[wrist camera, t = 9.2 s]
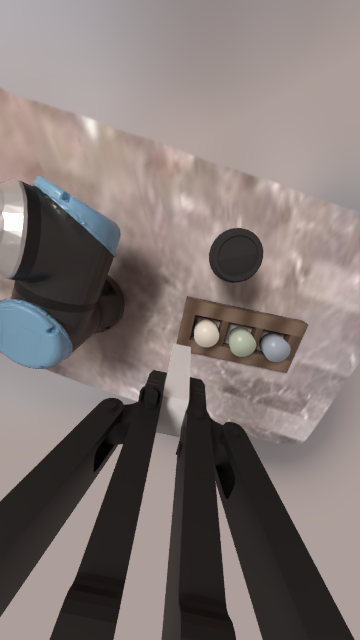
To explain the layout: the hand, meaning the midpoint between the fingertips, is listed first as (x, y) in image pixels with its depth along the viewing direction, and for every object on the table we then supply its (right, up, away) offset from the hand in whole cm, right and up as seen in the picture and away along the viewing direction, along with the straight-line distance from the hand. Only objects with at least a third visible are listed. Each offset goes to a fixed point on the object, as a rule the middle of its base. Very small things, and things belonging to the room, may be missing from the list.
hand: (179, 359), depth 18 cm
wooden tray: (+14, 0, +33) cm, 36 cm away
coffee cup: (+10, +18, +28) cm, 34 cm away
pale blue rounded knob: (+22, -2, +32) cm, 39 cm away
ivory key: (+6, +1, +32) cm, 32 cm away
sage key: (+14, -1, +31) cm, 34 cm away
